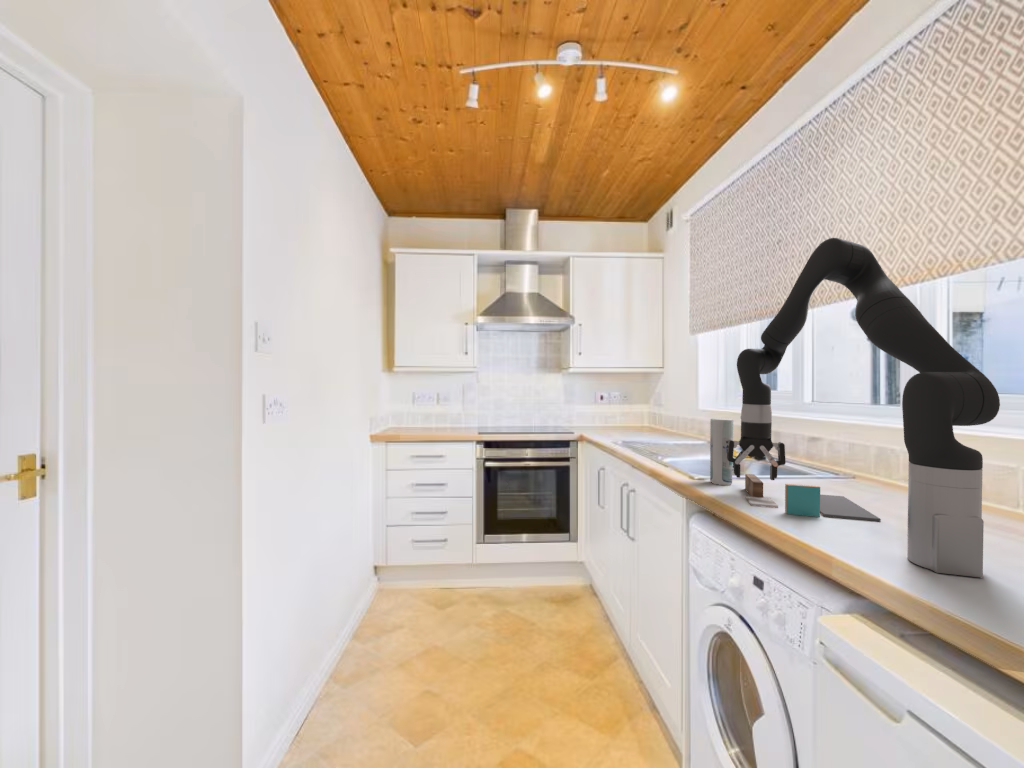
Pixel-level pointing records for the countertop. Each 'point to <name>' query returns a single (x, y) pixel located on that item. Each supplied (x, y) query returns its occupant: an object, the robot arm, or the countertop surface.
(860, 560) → the countertop surface
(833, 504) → the mat
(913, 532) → the robot arm
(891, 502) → the countertop surface
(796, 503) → the tile
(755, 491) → the turner
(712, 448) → the spray can
